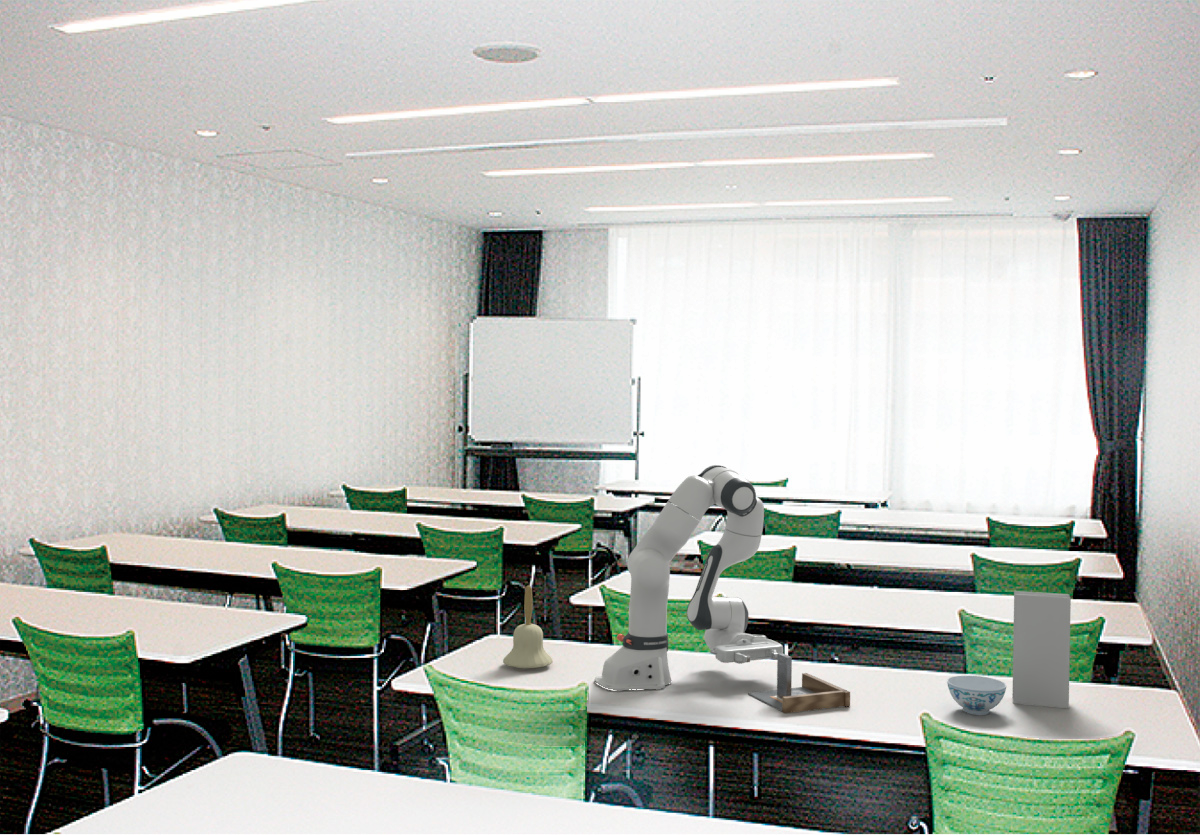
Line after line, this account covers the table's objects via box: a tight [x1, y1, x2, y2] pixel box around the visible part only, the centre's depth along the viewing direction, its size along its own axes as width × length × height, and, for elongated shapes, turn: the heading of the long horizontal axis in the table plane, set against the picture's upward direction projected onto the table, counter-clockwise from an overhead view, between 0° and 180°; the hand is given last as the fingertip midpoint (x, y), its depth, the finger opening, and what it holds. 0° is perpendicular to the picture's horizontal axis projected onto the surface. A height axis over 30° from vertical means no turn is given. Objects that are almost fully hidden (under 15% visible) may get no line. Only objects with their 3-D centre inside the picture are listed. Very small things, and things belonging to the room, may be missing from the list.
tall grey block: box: [1011, 590, 1072, 709], centre depth 305 cm, size 14×6×30 cm, turn 71°
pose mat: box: [747, 686, 815, 712], centre depth 307 cm, size 18×18×1 cm
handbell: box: [502, 585, 554, 669], centre depth 341 cm, size 15×15×25 cm
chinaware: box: [946, 675, 1007, 716], centre depth 297 cm, size 15×15×8 cm
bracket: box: [776, 652, 806, 699], centre depth 307 cm, size 7×5×12 cm
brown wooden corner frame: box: [781, 672, 851, 714], centre depth 307 cm, size 20×22×4 cm
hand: (762, 658), depth 317 cm, fingers open, 8 cm apart
